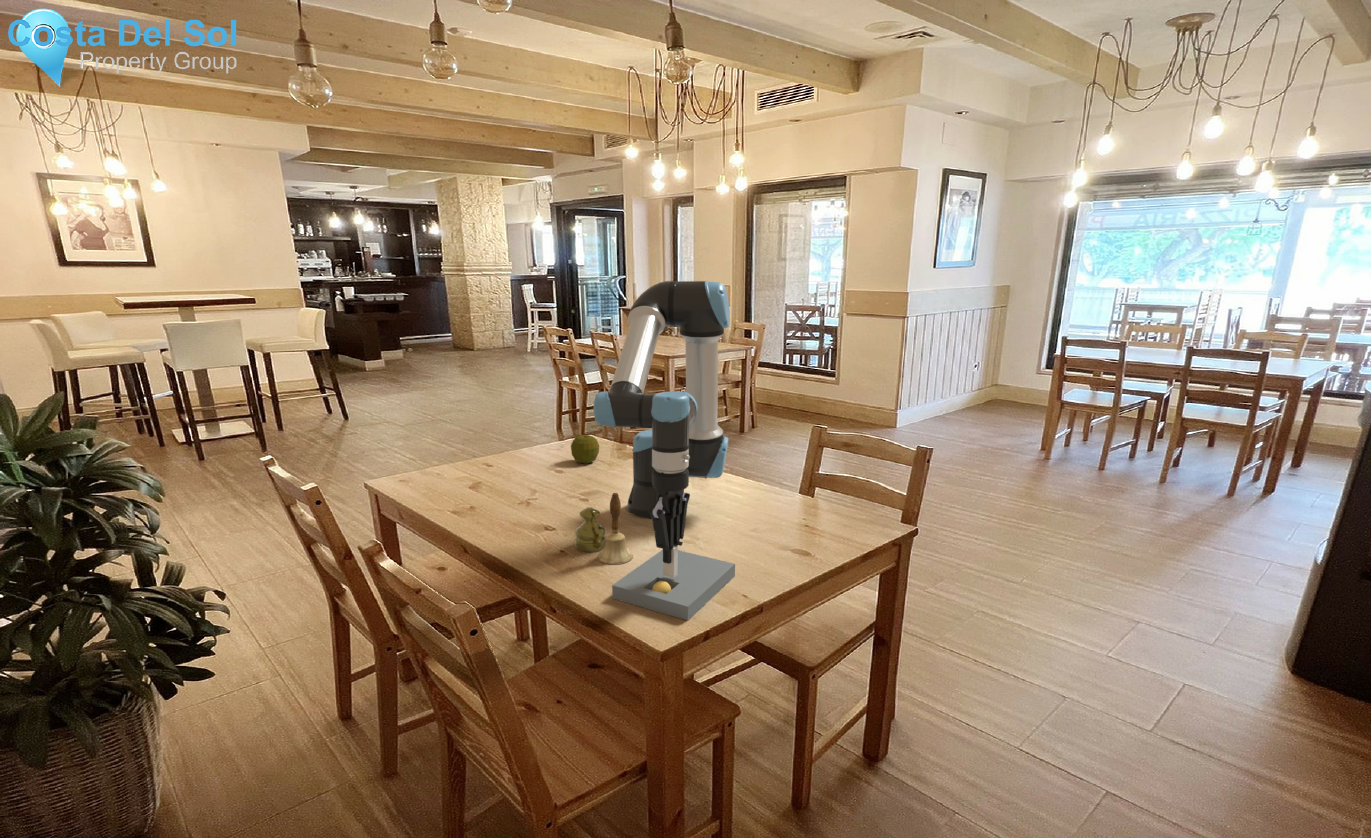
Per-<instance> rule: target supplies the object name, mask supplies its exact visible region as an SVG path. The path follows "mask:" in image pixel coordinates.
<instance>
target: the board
mask: <svg viewBox="0 0 1371 838" xmlns="http://www.w3.org/2000/svg"><path fill="white" fill-rule="evenodd" d="M735 577H736V563H733V562H730V561H725V560H720V559H717V558H712V557H708V556H705V555H704V556H703V555H700V554H697V553H691V552H686V551H682V550H680V549H678V563H677V576H675V577H674V578H673V577H669V576H666V575H663V549H662V550H660V551H658V552H657V553H655V554H654V555H653V556H652V557H650V558H649V559H647V560H646V561H644V562H643V563H642V564H640V565H639V566H637V567H636V568H635V569H633V570H632V571H630V572H628V573H627V574H626V575H625V576H623V577H622V578H620V579H619V580H617V581H616V582H614V583H613V584H612V585H611V587H612V588H611V589H612V590H611V591H612V593H611V595H612V599H613V600H617V601H619V602H620V601H621V602H624V603H627V604H629V605H630V604H631V605H633V606H638V607H640V608H644V609H647V610H651V611H654V612H657V613H659V614H660V613H662V614H664V615H667V616H671V617H675V618H676V619H677V618H678V619H681V620H683V621H684V620H685V621H690V620H691V619H692V617H693V616H695V615H696V614H697V613H698V612H699V611H700V610H701V609H702V608H703V607H704V606H705V605H706V604H707V603H708V602H710V600H711V599H712V598H714V597H715V596H716V595H717V594H718V593H719V592H720V591H721V590H722V589H723V588H724V587H725V586H727V584H729V582H730V581H731V580H733V579H734V578H735ZM659 581H665V582H667V583H668V584H669V585H670V587H671V591H670V592H668V593H667V594H664V593H660V592H657V591H653V590H652V588H653V586H654V584H655V583H657V582H659Z"/></svg>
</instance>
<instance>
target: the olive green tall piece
mask: <svg viewBox="0 0 1371 838" xmlns="http://www.w3.org/2000/svg"><path fill="white" fill-rule="evenodd" d="M600 514H601V512H600V510H598V509H597V508H595V507H590V506H588V507H586V508H584V509H582V510H580V511H579V516H580V518H583V520H584V521H583V522H582V523H581V524H580V525H579V526H577V527H576V529H575V531H574V534H575V539H574V541H575V548H576V549H577V550H578V551H581V552H587V553H593V552H597V551H598V552H599V551H601V550H603V549H604V547H605V542H606V536H605V534H606V528H605V527H604V526H603V525H601V524H600V523H599V522H597V520H596V519H597V518H598V517H599V516H600Z"/></svg>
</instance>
